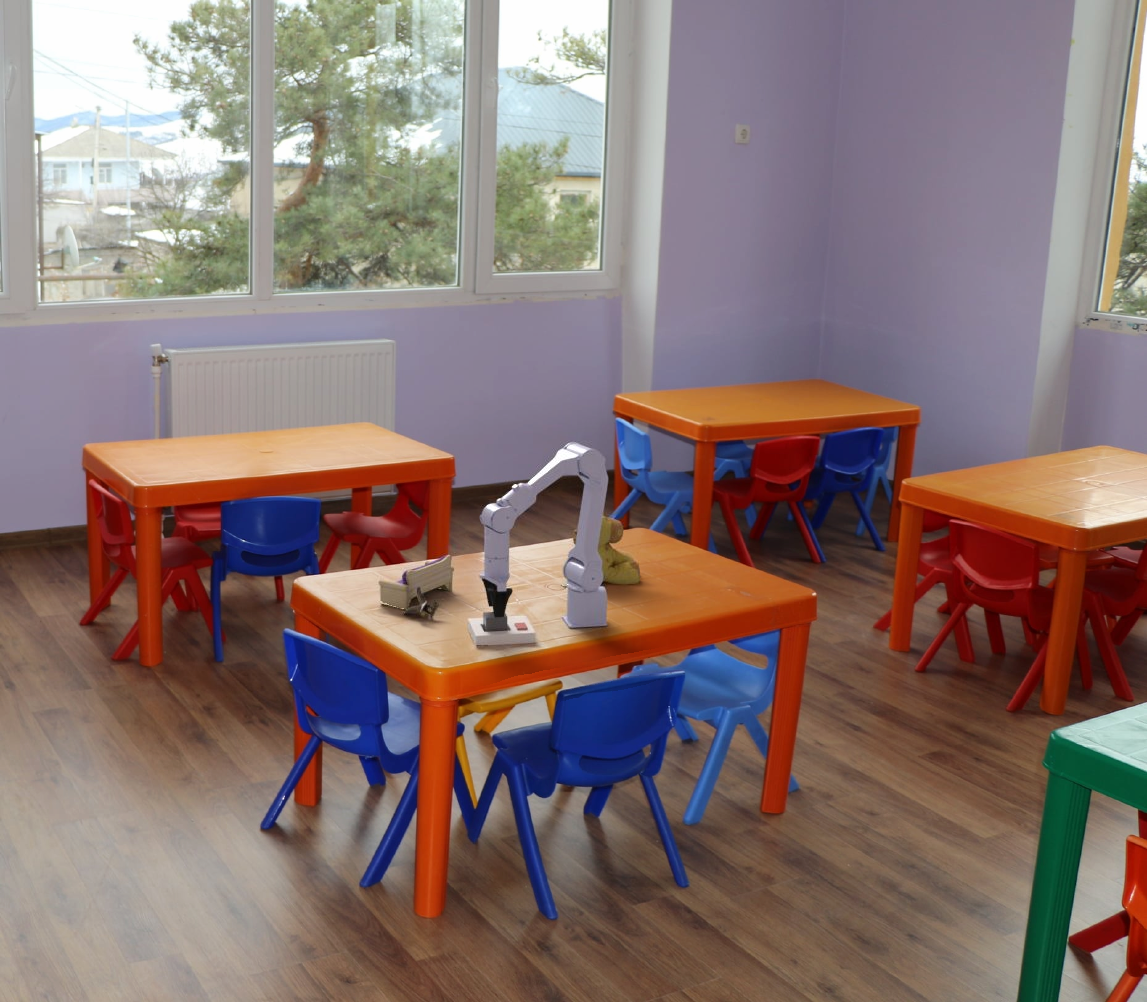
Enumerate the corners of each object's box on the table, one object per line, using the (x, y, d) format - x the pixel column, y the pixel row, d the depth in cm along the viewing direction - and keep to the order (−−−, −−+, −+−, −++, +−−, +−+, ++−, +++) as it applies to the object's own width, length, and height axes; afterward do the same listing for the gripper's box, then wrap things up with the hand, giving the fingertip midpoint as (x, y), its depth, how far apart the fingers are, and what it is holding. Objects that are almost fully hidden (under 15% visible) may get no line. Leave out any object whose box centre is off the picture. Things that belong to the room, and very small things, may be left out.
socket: (525, 625, 308) (525, 613, 307) (535, 642, 297) (535, 630, 296) (467, 628, 305) (467, 616, 304) (475, 646, 293) (475, 633, 293)
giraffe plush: (653, 579, 347) (656, 511, 342) (593, 597, 330) (596, 526, 325) (599, 562, 360) (601, 496, 356) (538, 579, 344) (540, 510, 339)
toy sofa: (427, 584, 337) (427, 547, 334) (454, 590, 333) (454, 552, 330) (377, 606, 319) (377, 566, 317) (405, 612, 315) (405, 572, 313)
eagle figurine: (447, 609, 314) (420, 595, 319) (441, 591, 309) (413, 578, 313) (428, 631, 310) (401, 617, 315) (421, 613, 305) (393, 599, 310)
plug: (503, 631, 302) (504, 611, 300) (507, 637, 298) (507, 617, 297) (483, 632, 300) (483, 612, 299) (485, 638, 297) (486, 618, 295)
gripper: (474, 547, 300) (474, 602, 304) (484, 565, 287) (484, 622, 290) (504, 546, 302) (503, 600, 305) (515, 564, 288) (514, 621, 292)
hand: (496, 611), depth 298 cm, fingers open, 7 cm apart
